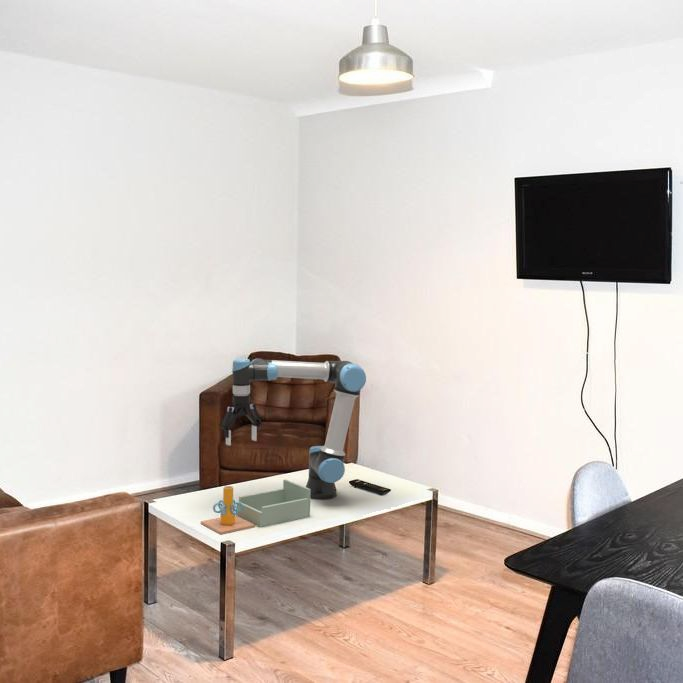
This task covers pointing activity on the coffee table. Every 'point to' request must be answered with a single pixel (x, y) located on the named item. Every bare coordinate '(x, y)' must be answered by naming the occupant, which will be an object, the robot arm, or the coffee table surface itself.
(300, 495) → the box
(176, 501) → the coffee table surface
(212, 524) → the terracotta tile
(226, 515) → the orange tube
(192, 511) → the coffee table surface
